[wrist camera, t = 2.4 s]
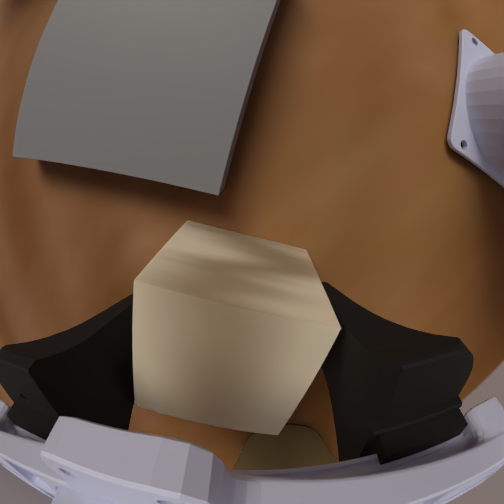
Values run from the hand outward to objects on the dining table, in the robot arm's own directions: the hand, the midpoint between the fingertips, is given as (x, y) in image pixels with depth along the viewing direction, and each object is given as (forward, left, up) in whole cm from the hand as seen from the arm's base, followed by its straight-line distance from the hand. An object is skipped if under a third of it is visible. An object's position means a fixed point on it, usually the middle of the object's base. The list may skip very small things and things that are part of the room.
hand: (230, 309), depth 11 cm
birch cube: (0, 0, -2) cm, 2 cm away
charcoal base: (+7, -10, -2) cm, 12 cm away
